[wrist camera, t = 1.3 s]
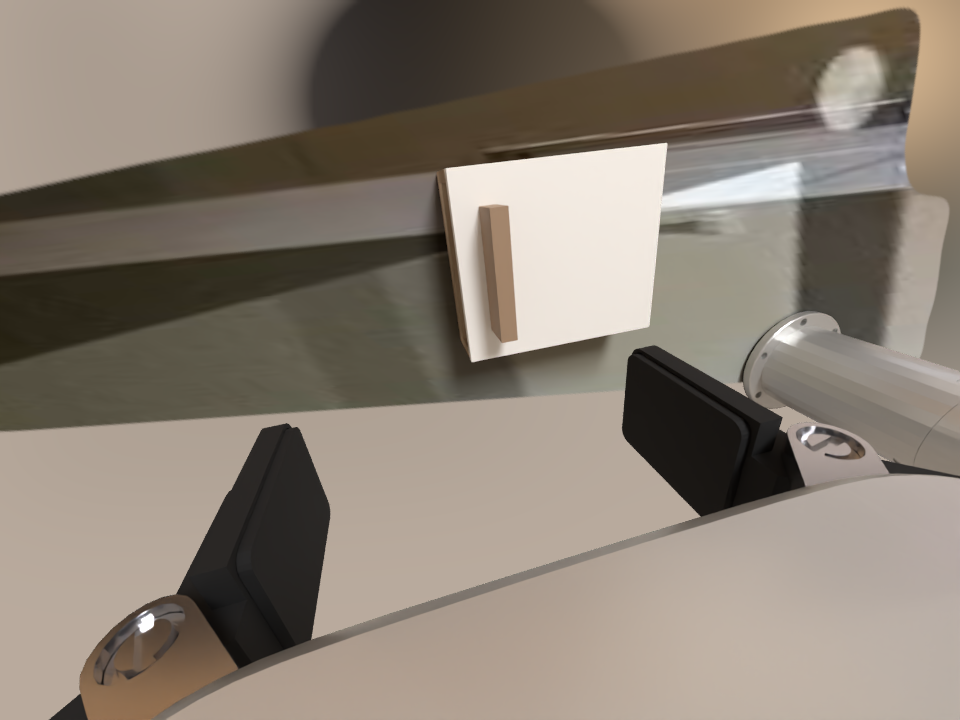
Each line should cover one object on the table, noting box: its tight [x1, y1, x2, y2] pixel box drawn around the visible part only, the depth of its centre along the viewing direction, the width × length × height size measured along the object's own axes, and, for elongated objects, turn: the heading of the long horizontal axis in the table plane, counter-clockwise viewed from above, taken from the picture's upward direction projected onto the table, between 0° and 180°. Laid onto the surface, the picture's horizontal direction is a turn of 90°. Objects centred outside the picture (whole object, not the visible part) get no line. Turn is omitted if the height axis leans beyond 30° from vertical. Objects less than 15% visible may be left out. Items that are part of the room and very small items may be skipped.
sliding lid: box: [444, 143, 667, 362], centre depth 27 cm, size 16×14×4 cm
